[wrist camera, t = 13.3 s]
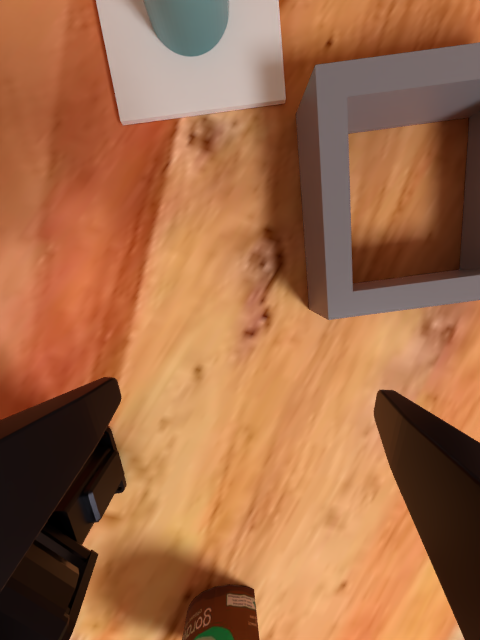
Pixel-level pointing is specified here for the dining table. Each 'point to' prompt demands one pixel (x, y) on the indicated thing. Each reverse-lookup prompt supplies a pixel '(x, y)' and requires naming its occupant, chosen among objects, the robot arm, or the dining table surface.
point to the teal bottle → (188, 24)
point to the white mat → (193, 64)
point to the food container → (222, 615)
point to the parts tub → (333, 171)
